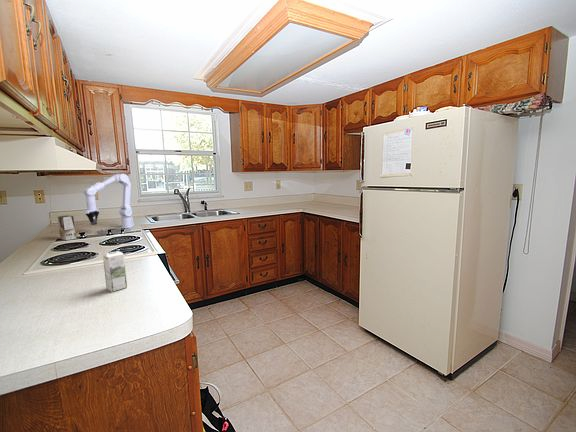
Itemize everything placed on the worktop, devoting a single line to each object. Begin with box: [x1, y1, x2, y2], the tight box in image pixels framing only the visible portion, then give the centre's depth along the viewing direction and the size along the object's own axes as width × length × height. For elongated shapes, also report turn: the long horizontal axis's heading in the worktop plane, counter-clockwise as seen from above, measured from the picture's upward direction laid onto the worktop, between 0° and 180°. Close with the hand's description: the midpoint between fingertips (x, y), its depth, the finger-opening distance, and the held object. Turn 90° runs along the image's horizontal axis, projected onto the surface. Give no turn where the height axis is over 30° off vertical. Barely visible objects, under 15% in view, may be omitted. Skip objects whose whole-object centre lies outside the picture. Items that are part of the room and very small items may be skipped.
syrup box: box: [102, 250, 128, 293], centre depth 114 cm, size 6×6×14 cm
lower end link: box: [101, 228, 131, 235], centre depth 222 cm, size 10×16×2 cm, turn 95°
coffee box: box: [57, 214, 77, 241], centre depth 201 cm, size 9×6×16 cm
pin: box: [90, 215, 98, 226], centre depth 219 cm, size 4×4×7 cm
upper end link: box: [96, 227, 121, 235], centre depth 221 cm, size 10×14×2 cm
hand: (93, 221), depth 219 cm, fingers closed on pin, 4 cm apart
